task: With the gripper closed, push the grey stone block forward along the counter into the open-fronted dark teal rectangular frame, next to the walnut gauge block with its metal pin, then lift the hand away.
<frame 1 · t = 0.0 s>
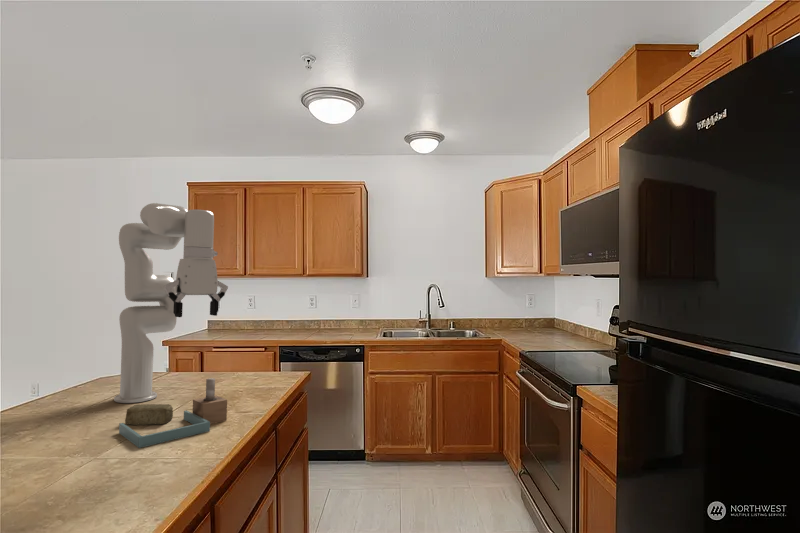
hand: (196, 316, 125), 31 cm above the counter, tool pointing down, fingers open, 9 cm apart
stone block: (149, 423, 129), on the counter
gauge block: (209, 420, 132), on the counter
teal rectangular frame: (164, 431, 122), on the counter
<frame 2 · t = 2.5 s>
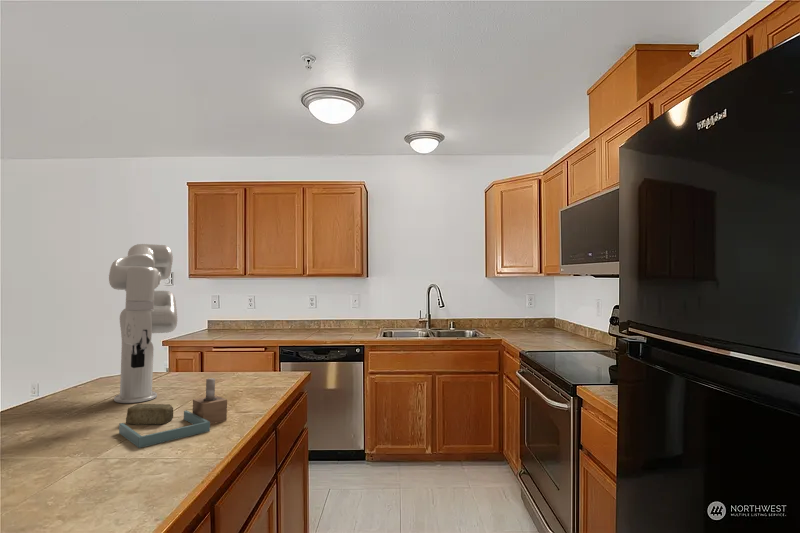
hand: (137, 367, 137), 14 cm above the counter, tool pointing down, fingers closed
nothing on the counter moved.
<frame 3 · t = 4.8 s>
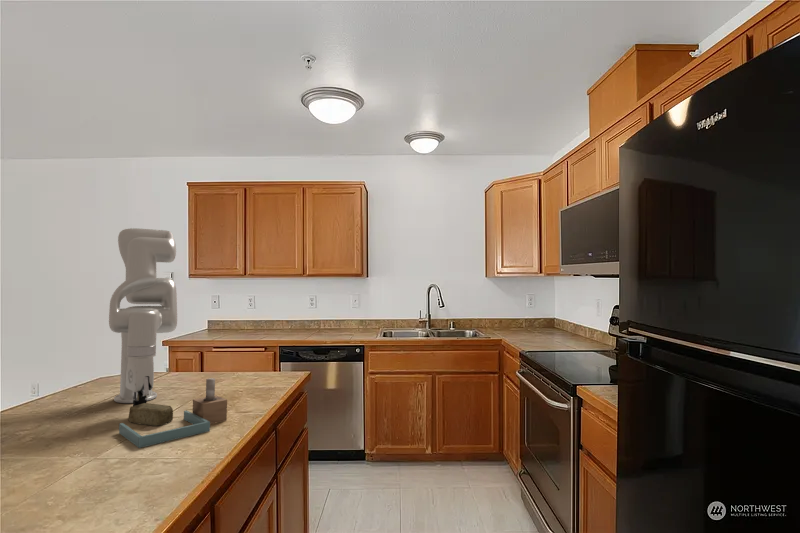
hand: (139, 413, 135), 1 cm above the counter, tool pointing down, fingers closed
stone block: (150, 423, 130), on the counter, touching gripper
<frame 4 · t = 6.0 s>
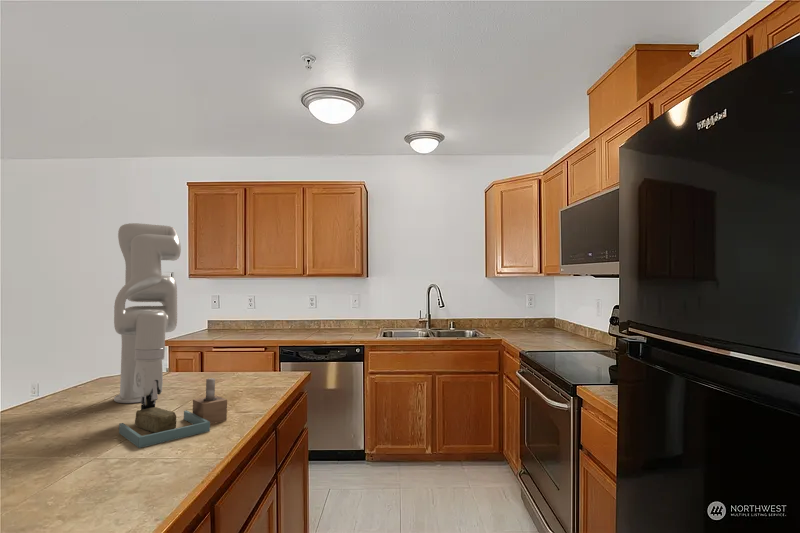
hand: (147, 418, 130), 1 cm above the counter, tool pointing down, fingers closed
stone block: (155, 429, 125), on the counter, touching gripper
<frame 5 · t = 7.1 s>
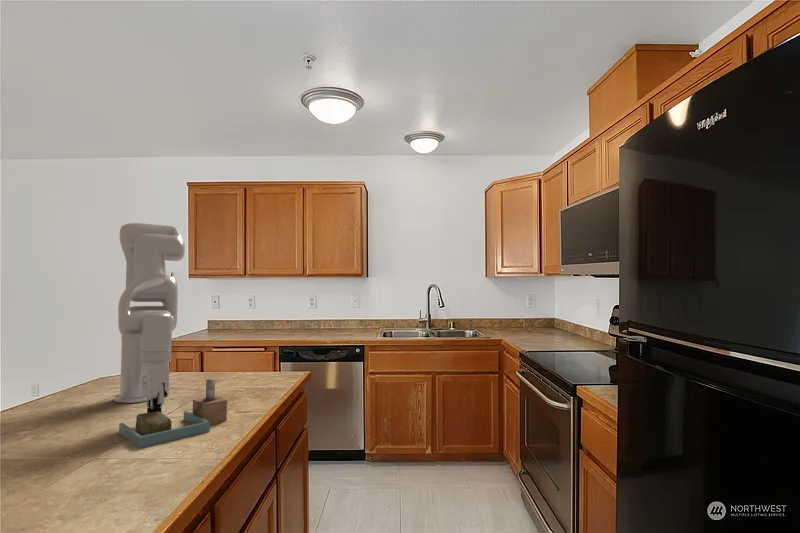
hand: (153, 421, 127), 1 cm above the counter, tool pointing down, fingers closed
stone block: (153, 435, 120), on the counter, touching gripper
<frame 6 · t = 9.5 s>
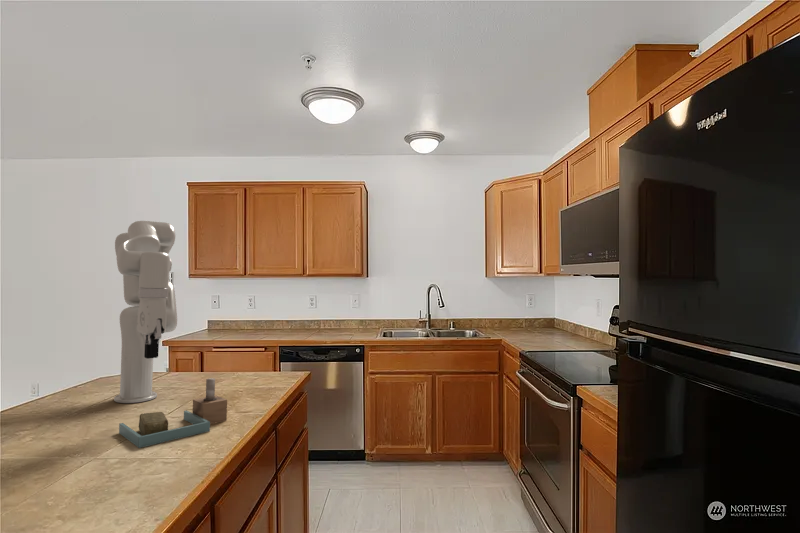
hand: (151, 357, 130), 18 cm above the counter, tool pointing down, fingers closed
stone block: (153, 435, 120), on the counter
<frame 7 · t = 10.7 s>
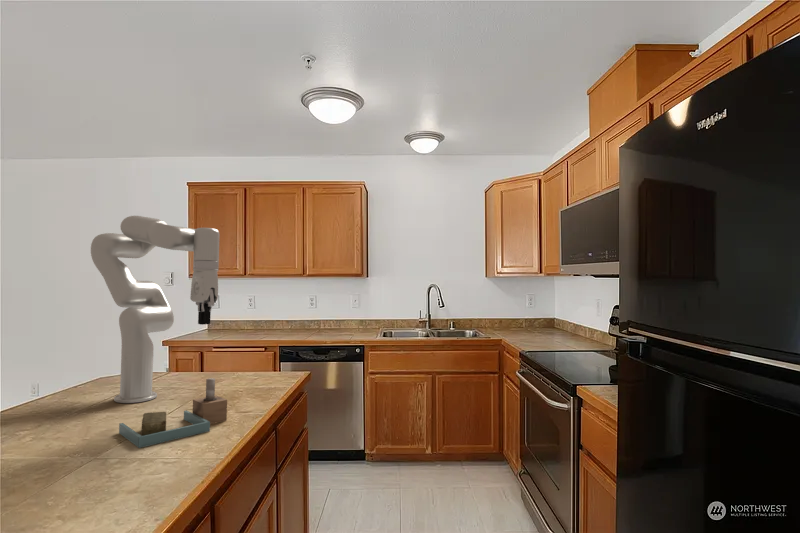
hand: (204, 324, 143), 27 cm above the counter, tool pointing down, fingers closed
nothing on the counter moved.
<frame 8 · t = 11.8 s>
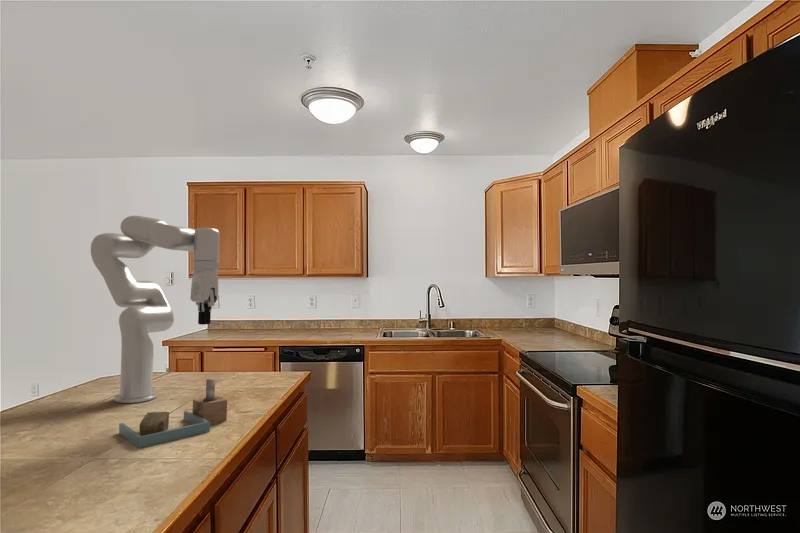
hand: (204, 324, 143), 27 cm above the counter, tool pointing down, fingers closed
at the end: stone block inside the target area on the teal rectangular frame (2.6 cm from its centre), point 0.0 cm above the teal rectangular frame's base; stone block moved 11.8 cm from its start; stone block on the counter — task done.
